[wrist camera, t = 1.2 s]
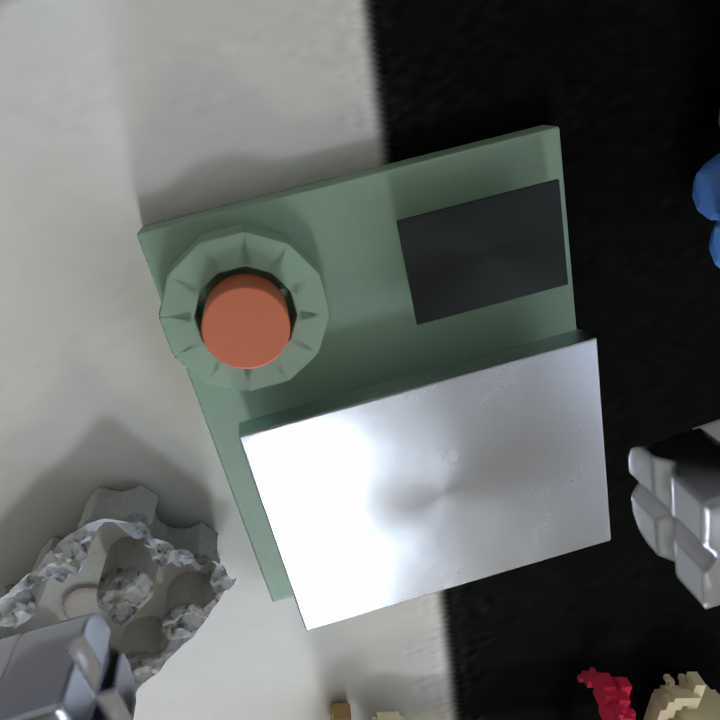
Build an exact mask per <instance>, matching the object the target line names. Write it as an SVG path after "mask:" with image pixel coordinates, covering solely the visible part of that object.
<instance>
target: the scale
mask: <svg viewBox="0 0 720 720" xmlns="http://www.w3.org/2000/svg"><path fill="white" fill-rule="evenodd" d="M554 179H559V184H560V196H561V207H562V218H563V230H564V241H565V252H566V264H567V275H568V285H564V286H560V287H557V288H553V289H549V290H546V291H542V292H538V293H534V294H531V295H527V296H523V297H520V298H516V299H512V300H509V301H505V302H501V303H497V304H494V305H490V306H486V307H483V308H479V309H475V310H472V311H468V312H464V313H460V314H457V315H453V316H449V317H446V318H442V319H438V320H434V321H431V322H427V323H423V324H420V325H417V323H416V319H415V314H414V309H413V304H412V299H411V294H410V289H409V284H408V278H407V273H406V268H405V263H404V258H403V253H402V248H401V243H400V238H399V233H398V228H397V223H396V220H400V219H404V218H407V217H411V216H415V215H419V214H423V213H427V212H431V211H434V210H438V209H442V208H446V207H450V206H454V205H458V204H461V203H465V202H469V201H473V200H477V199H481V198H485V197H488V196H492V195H496V194H500V193H504V192H508V191H512V190H515V189H519V188H523V187H527V186H531V185H535V184H539V183H542V182H546V181H550V180H554ZM137 236H138V239H139V241H140V244H141V247H142V250H143V252H144V255H145V258H146V260H147V263H148V266H149V268H150V271H151V274H152V277H153V279H154V282H155V285H156V287H157V290H158V293H159V296H160V298H161V301H162V302H161V307H160V311H159V316H160V317H159V319H160V322H161V325H162V327H163V330H164V333H165V335H166V338H167V341H168V343H169V346H170V349H171V351H172V354H173V355H174V356H175V358H176V359H177V360H179V361H180V362H181V363H182V364H184V365H185V366H186V369H187V371H188V374H189V377H190V379H191V382H192V385H193V387H194V390H195V393H196V396H197V398H198V401H199V404H200V406H201V409H202V412H203V415H204V417H205V420H206V423H207V425H208V428H209V431H210V433H211V436H212V439H213V442H214V444H215V447H216V450H217V452H218V455H219V458H220V460H221V463H222V466H223V469H224V471H225V474H226V477H227V479H228V482H229V485H230V488H231V490H232V493H233V496H234V498H235V501H236V504H237V506H238V509H239V512H240V515H241V517H242V520H243V523H244V525H245V528H246V531H247V534H248V536H249V539H250V542H251V544H252V547H253V550H254V552H255V555H256V558H257V561H258V563H259V566H260V569H261V571H262V574H263V577H264V580H265V582H266V585H267V588H268V590H269V593H270V596H271V598H272V601H273V602H275V601H278V600H282V599H285V598H288V597H292V596H294V595H293V592H292V589H291V586H290V583H289V581H288V578H287V575H286V572H285V569H284V566H283V563H282V561H281V558H280V555H279V552H278V549H277V546H276V543H275V541H274V538H273V535H272V532H271V529H270V526H269V523H268V520H267V518H266V515H265V512H264V509H263V506H262V503H261V500H260V498H259V495H258V492H257V489H256V486H255V483H254V480H253V478H252V475H251V472H250V469H249V466H248V463H247V460H246V458H245V455H244V452H243V449H242V446H241V443H240V440H239V423H240V422H242V421H246V420H249V419H253V418H256V417H260V416H264V415H267V414H271V413H275V412H278V411H282V410H286V409H289V408H293V407H296V406H300V405H304V404H307V403H311V402H315V401H318V400H322V399H326V398H329V397H333V396H337V395H340V394H344V393H347V392H351V391H355V390H358V389H362V388H366V387H369V386H373V385H377V384H380V383H384V382H387V381H391V380H395V379H398V378H402V377H406V376H409V375H413V374H417V373H420V372H424V371H428V370H431V369H435V368H438V367H442V366H446V365H449V364H453V363H457V362H460V361H464V360H468V359H471V358H475V357H478V356H482V355H486V354H489V353H493V352H497V351H500V350H504V349H508V348H511V347H515V346H519V345H522V344H526V343H529V342H533V341H537V340H540V339H544V338H548V337H551V336H555V335H559V334H562V333H566V332H569V331H573V330H576V320H575V308H574V296H573V285H572V273H571V261H570V250H569V238H568V226H567V215H566V203H565V191H564V180H563V168H562V156H561V144H560V133H559V127H557V126H549V125H540V126H536V127H532V128H528V129H524V130H520V131H516V132H513V133H509V134H505V135H501V136H497V137H493V138H489V139H485V140H481V141H477V142H473V143H469V144H465V145H461V146H457V147H453V148H449V149H445V150H442V151H438V152H434V153H430V154H426V155H422V156H418V157H414V158H410V159H406V160H402V161H398V162H394V163H390V164H386V165H382V166H378V167H374V168H371V169H367V170H363V171H359V172H355V173H351V174H347V175H343V176H339V177H335V178H331V179H327V180H323V181H319V182H315V183H311V184H307V185H303V186H300V187H296V188H292V189H288V190H284V191H280V192H276V193H272V194H268V195H264V196H260V197H256V198H252V199H248V200H244V201H240V202H236V203H232V204H229V205H225V206H221V207H217V208H213V209H209V210H205V211H201V212H197V213H193V214H189V215H185V216H181V217H177V218H173V219H169V220H165V221H161V222H158V223H154V224H150V225H146V226H143V227H142V228H141V230H140V231H139V232H138V234H137ZM244 273H247V274H255V275H259V276H262V277H264V278H266V279H268V280H269V281H271V282H272V283H273V284H275V285H276V286H277V287H278V289H279V290H280V291H281V293H282V294H283V296H284V298H285V301H286V304H287V308H288V314H289V319H290V327H291V328H290V336H289V340H288V342H287V345H286V347H285V348H284V350H283V351H282V353H281V354H280V355H279V356H278V357H277V358H275V359H274V360H273V361H271V362H270V363H268V364H266V365H264V366H261V367H257V368H251V369H241V368H235V367H232V366H229V365H227V364H224V363H223V362H221V361H219V360H218V359H217V358H216V357H214V356H213V355H212V354H211V352H210V351H209V350H208V348H207V347H206V345H205V343H204V340H203V337H202V332H201V322H202V316H203V311H204V306H205V302H206V299H207V297H208V294H209V293H210V291H211V290H212V289H213V287H214V286H215V285H216V284H218V283H219V282H220V281H222V280H223V279H225V278H227V277H229V276H232V275H236V274H244Z"/></svg>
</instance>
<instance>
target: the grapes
mask: <svg viewBox="0 0 720 720" xmlns="http://www.w3.org/2000/svg"><path fill="white" fill-rule="evenodd" d="M718 124H719V127H720V108H719V118H718ZM692 197H693V200H694V202H695V205H696V208H697V211H699V212H700V213H701V214H703V215H704V216H705V217H707V218H708V219H709V220H719V221H718V222H717V223H716V225H715V226H714V228H713V230H712V232H711V234H710V243H709V249H710V252H711V255H712V258H713V261H714V264H715V265H716V266H718V267H719V268H720V153H719V154H717V155H716V156H714V157H713V158H712V159H710V160H709V161H708V162H707V163H705V164H704V165H703V166H702V167H701V168H700V170H699V171H698V172H697V173H696V176H695V178H694V181H693V193H692Z"/></svg>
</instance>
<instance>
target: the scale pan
mask: <svg viewBox="0 0 720 720" xmlns="http://www.w3.org/2000/svg"><path fill="white" fill-rule="evenodd" d="M396 223H397V228H398V233H399V238H400V243H401V248H402V253H403V258H404V263H405V268H406V273H407V278H408V284H409V289H410V294H411V299H412V304H413V309H414V314H415V319H416V323H417V325H420V324H423V323H427V322H431V321H434V320H438V319H442V318H446V317H449V316H453V315H457V314H460V313H464V312H468V311H472V310H475V309H479V308H483V307H486V306H490V305H494V304H497V303H501V302H505V301H509V300H512V299H516V298H520V297H523V296H527V295H531V294H534V293H538V292H542V291H546V290H549V289H553V288H557V287H560V286H564V285H568V275H567V264H566V252H565V241H564V230H563V218H562V207H561V196H560V184H559V179H554V180H550V181H546V182H542V183H539V184H535V185H531V186H527V187H523V188H519V189H515V190H512V191H508V192H504V193H500V194H496V195H492V196H488V197H485V198H481V199H477V200H473V201H469V202H465V203H461V204H458V205H454V206H450V207H446V208H442V209H438V210H434V211H431V212H427V213H423V214H419V215H415V216H411V217H407V218H404V219H400V220H396ZM239 440H240V443H241V446H242V449H243V452H244V455H245V458H246V460H247V463H248V466H249V469H250V472H251V475H252V478H253V480H254V483H255V486H256V489H257V492H258V495H259V498H260V500H261V503H262V506H263V509H264V512H265V515H266V518H267V520H268V523H269V526H270V529H271V532H272V535H273V538H274V541H275V543H276V546H277V549H278V552H279V555H280V558H281V561H282V563H283V566H284V569H285V572H286V575H287V578H288V581H289V583H290V586H291V589H292V592H293V595H294V598H295V601H296V603H297V606H298V609H299V612H300V615H301V618H302V621H303V623H304V626H305V629H306V630H310V629H313V628H317V627H320V626H323V625H327V624H330V623H333V622H337V621H340V620H344V619H347V618H350V617H354V616H357V615H360V614H364V613H367V612H371V611H374V610H377V609H381V608H384V607H387V606H391V605H394V604H397V603H401V602H404V601H408V600H411V599H414V598H418V597H421V596H424V595H428V594H431V593H435V592H438V591H441V590H445V589H448V588H451V587H455V586H458V585H462V584H465V583H468V582H472V581H475V580H478V579H482V578H485V577H488V576H492V575H495V574H499V573H502V572H505V571H509V570H512V569H515V568H519V567H522V566H526V565H529V564H532V563H536V562H539V561H542V560H546V559H549V558H553V557H556V556H559V555H563V554H566V553H569V552H573V551H576V550H579V549H583V548H586V547H590V546H593V545H596V544H600V543H603V542H606V541H610V540H611V534H610V520H609V506H608V492H607V478H606V464H605V450H604V436H603V422H602V408H601V394H600V380H599V367H598V353H597V339H596V338H595V337H594V336H593V335H591V334H590V333H588V332H587V331H586V330H584V329H582V328H580V329H577V330H573V331H569V332H566V333H562V334H559V335H555V336H551V337H548V338H544V339H540V340H537V341H533V342H529V343H526V344H522V345H519V346H515V347H511V348H508V349H504V350H500V351H497V352H493V353H489V354H486V355H482V356H478V357H475V358H471V359H468V360H464V361H460V362H457V363H453V364H449V365H446V366H442V367H438V368H435V369H431V370H428V371H424V372H420V373H417V374H413V375H409V376H406V377H402V378H398V379H395V380H391V381H387V382H384V383H380V384H377V385H373V386H369V387H366V388H362V389H358V390H355V391H351V392H347V393H344V394H340V395H337V396H333V397H329V398H326V399H322V400H318V401H315V402H311V403H307V404H304V405H300V406H296V407H293V408H289V409H286V410H282V411H278V412H275V413H271V414H267V415H264V416H260V417H256V418H253V419H249V420H246V421H242V422H240V423H239Z"/></svg>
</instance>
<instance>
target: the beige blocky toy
mask: <svg viewBox="0 0 720 720" xmlns="http://www.w3.org/2000/svg"><path fill="white" fill-rule="evenodd" d="M677 678H678V679H679V684H680V685H674V684H675V681H674V679H673V678H671V676H670V675H669V674H664V676H663V679H664V680H665V682H666V684H665V685H660V688H659V689H654V691H653V693H652V695H651V698H650V701H649V704H648V707H647V710H646V713H645V716H644V719H643V720H720V695H719V693H717V691H716V690H711V689H710V688H709V687H708V685H706V684H705V683H704V681H703V680H702V678H701V677H700V675H699V674H698V672H687V673H686V675H684V674H678V677H677ZM577 680H578V682H585V684H586V686H587V688H592V687H593V689H594V690H593V695H594V697H595V699H596V701H597V703H598V705H599V710H598V712H599V714H600V716H601V718H602V720H636V719H635V716H636V712H635V710H634V709H630V708H629V705H630V702H631V700H630V698H629V695H630V692H631V689H632V685H631V684H630V682H629V680H628V678H627V677H611V676H610V674H609V673H599V672H596V670H595V668H589V671H582V672H581V674H578V675H577ZM331 720H351V711H350V704H349V703H348V702H344V703H332V710H331ZM371 720H405V716H400V712H398V711H390V712H377V713H376V717H372V718H371Z"/></svg>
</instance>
